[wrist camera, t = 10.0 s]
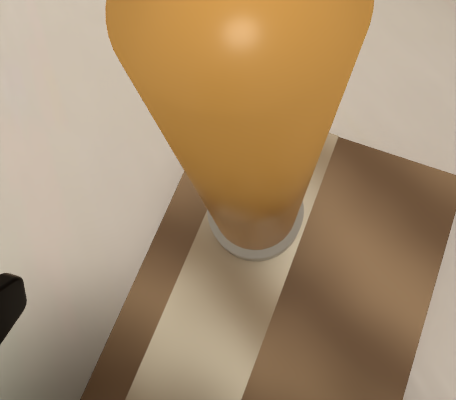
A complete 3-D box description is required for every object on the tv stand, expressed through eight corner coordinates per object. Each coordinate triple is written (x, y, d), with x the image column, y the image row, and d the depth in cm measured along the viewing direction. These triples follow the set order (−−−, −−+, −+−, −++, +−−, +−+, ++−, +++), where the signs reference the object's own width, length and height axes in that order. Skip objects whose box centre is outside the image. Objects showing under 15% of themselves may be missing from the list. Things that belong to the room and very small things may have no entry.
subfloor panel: (346, 557, 15) (353, 577, 14) (80, 417, 17) (67, 425, 16) (454, 184, 18) (466, 177, 17) (220, 107, 20) (217, 96, 19)
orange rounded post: (304, 258, 17) (427, 123, 4) (213, 263, 17) (73, 152, 4) (296, 171, 18) (374, -143, 5) (210, 178, 18) (90, -105, 6)
